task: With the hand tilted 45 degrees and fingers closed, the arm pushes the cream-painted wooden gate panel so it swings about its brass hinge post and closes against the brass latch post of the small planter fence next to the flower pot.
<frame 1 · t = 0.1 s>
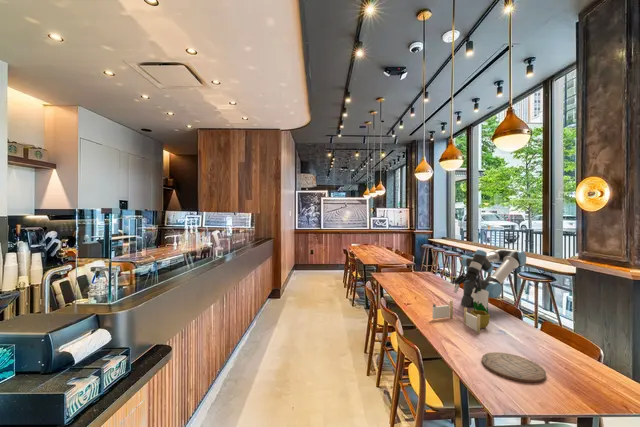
hand: (463, 294, 206), 15 cm above the table, tool tilted 35°, fingers open, 13 cm apart
fence: (451, 318, 202), on the table
milk carton: (480, 315, 208), on the table
gate: (440, 310, 200), point 6 cm above the table, hinge at -12.0°
flower pot: (480, 326, 187), on the table
trivet: (512, 369, 135), on the table
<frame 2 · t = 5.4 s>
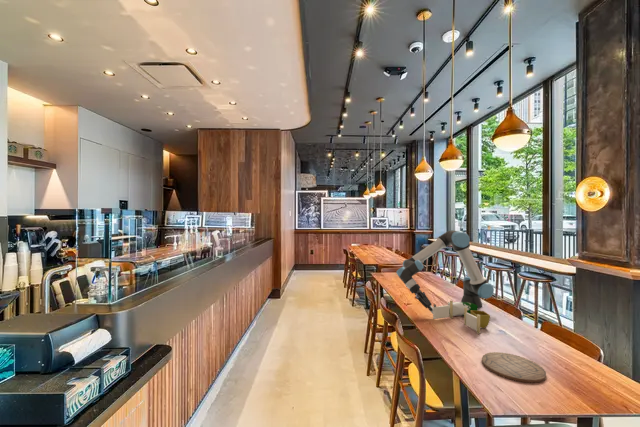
hand: (435, 314, 200), 3 cm above the table, tool tilted 45°, fingers closed
milk carton: (475, 309, 209), point 4 cm above the table
gate: (441, 310, 199), point 6 cm above the table, hinge at -9.8°, touching gripper
everything else where it was.
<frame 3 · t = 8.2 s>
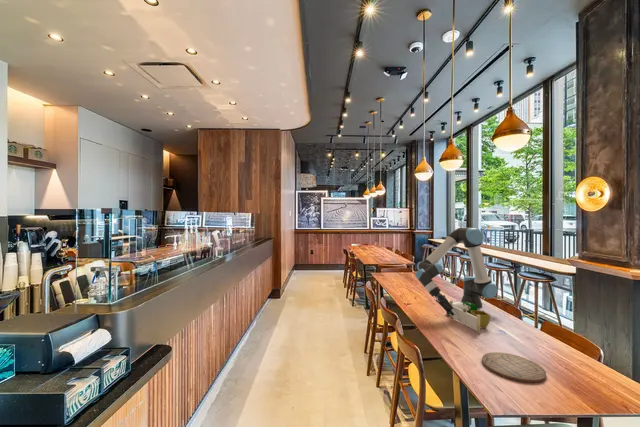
hand: (457, 318, 192), 3 cm above the table, tool tilted 45°, fingers closed
gate: (459, 313, 194), point 6 cm above the table, hinge at 72.0°, touching fence, gripper
everything else where it was.
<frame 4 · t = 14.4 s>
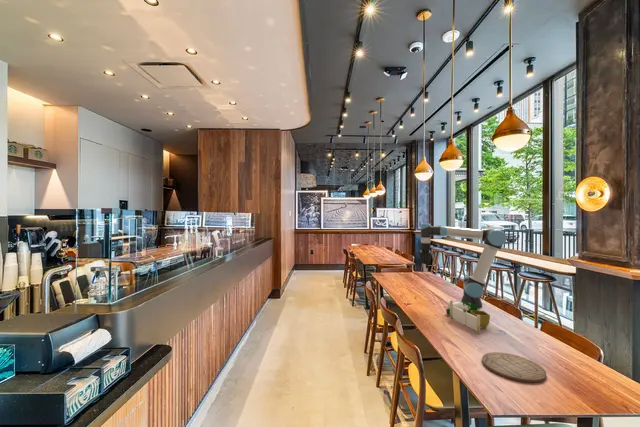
hand: (425, 272, 233), 26 cm above the table, tool pointing down, fingers closed
gate: (459, 313, 194), point 6 cm above the table, hinge at 72.0°
everything else where it was.
at the end: gate at +72° (first picture: -12°); flower pot moved 0.3 cm from its start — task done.
